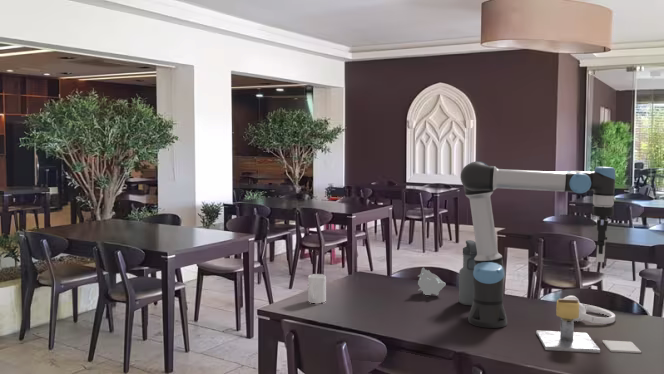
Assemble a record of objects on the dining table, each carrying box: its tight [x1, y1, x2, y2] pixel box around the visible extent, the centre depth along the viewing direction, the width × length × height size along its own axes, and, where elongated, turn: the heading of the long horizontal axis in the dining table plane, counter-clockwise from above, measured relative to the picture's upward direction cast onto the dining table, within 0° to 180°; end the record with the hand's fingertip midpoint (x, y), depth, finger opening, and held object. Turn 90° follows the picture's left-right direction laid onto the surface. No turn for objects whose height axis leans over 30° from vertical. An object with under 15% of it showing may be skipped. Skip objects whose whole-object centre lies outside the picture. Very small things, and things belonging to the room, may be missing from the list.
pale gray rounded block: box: [307, 273, 327, 303], centre depth 266 cm, size 8×12×12 cm
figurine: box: [417, 267, 446, 296], centre depth 281 cm, size 10×15×14 cm
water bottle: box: [458, 239, 477, 307], centre depth 266 cm, size 10×10×28 cm
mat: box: [601, 339, 642, 354], centre depth 210 cm, size 10×10×1 cm
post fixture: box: [535, 317, 601, 354], centre depth 214 cm, size 18×18×10 cm
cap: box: [555, 298, 580, 319], centre depth 213 cm, size 8×8×6 cm
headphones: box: [562, 295, 616, 325], centre depth 244 cm, size 20×8×20 cm
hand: (600, 258), depth 235 cm, fingers open, 13 cm apart
